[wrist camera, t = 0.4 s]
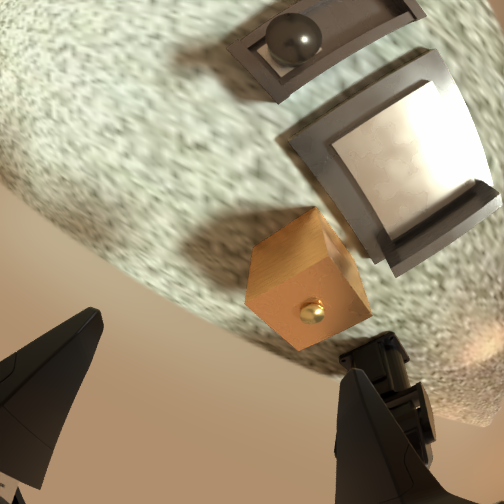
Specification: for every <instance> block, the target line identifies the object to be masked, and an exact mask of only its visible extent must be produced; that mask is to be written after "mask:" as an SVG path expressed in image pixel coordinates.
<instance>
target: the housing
mask: <svg viewBox="0 0 504 504" xmlns="http://www.w3.org/2000/svg"><path fill="white" fill-rule="evenodd" d="M244 304H245V305H246V306H247V307H248V308H250V309H251V310H252V311H253V312H254V313H255V314H256V315H257V316H258V317H260V318H261V319H262V320H263V321H264V322H265V323H266V324H268V325H269V326H270V327H271V328H272V329H273V330H274V331H276V332H277V333H278V334H279V335H280V336H281V337H282V338H284V339H285V340H286V341H287V342H288V343H289V344H291V345H292V346H293V347H294V348H295V349H296V350H298V351H300V350H302V349H305V348H307V347H309V346H311V345H314V344H316V343H318V342H320V341H323V340H325V339H327V338H329V337H331V336H333V335H335V334H337V333H340V332H342V331H344V330H346V329H348V328H350V327H352V326H354V325H356V324H358V323H360V322H362V321H364V320H366V319H368V318H369V317H371V316H373V315H372V312H371V309H370V306H369V302H368V299H367V296H366V293H365V290H364V287H363V284H362V281H361V278H360V275H359V272H358V269H357V266H356V263H355V261H354V259H353V257H352V256H351V254H350V253H349V252H348V250H347V249H346V247H345V246H344V244H343V243H342V242H341V240H340V239H339V237H338V236H337V235H336V233H335V232H334V230H333V229H332V228H331V226H330V225H329V223H328V222H327V221H326V219H325V218H324V217H323V215H322V214H321V213H320V211H319V210H318V209H317V207H316V206H315V207H314V208H312V209H311V210H309V211H307V212H306V213H304V214H303V215H301V216H300V217H298V218H297V219H295V220H294V221H292V222H291V223H289V224H288V225H286V226H285V227H283V228H282V229H280V230H279V231H277V232H276V233H274V234H273V235H271V236H270V237H268V238H267V239H265V240H264V241H262V242H261V243H259V244H258V245H256V246H255V247H253V251H252V257H251V264H250V270H249V277H248V284H247V290H246V297H245V303H244Z"/></svg>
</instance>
